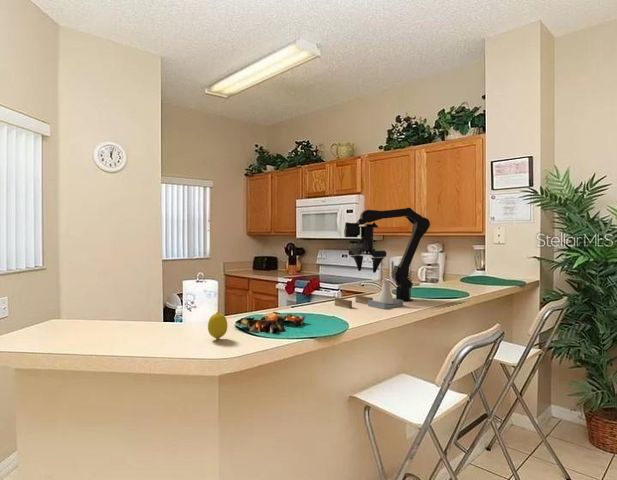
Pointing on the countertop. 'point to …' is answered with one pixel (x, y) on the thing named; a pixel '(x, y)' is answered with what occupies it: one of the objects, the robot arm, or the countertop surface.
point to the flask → (386, 293)
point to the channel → (349, 303)
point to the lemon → (217, 325)
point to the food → (270, 322)
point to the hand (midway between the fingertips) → (366, 271)
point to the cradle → (383, 305)
